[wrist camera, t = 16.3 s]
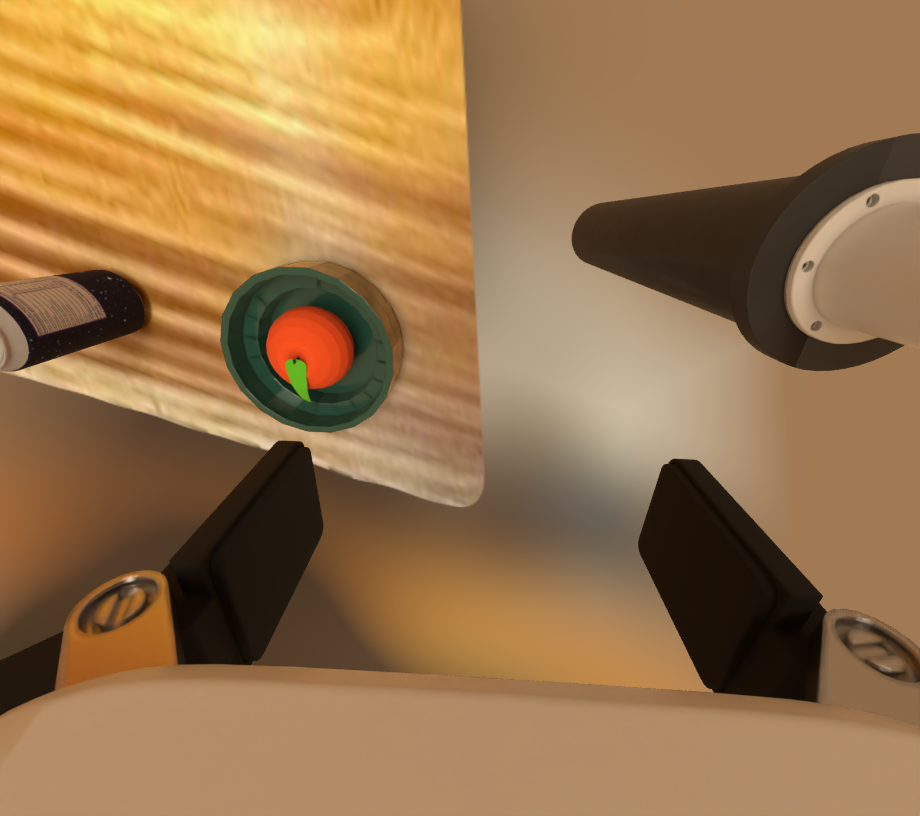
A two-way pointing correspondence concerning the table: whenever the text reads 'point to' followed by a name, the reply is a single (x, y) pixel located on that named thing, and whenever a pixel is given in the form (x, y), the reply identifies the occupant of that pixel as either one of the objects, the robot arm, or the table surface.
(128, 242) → the table surface
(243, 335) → the bowl
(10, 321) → the beverage can
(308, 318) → the clementine
